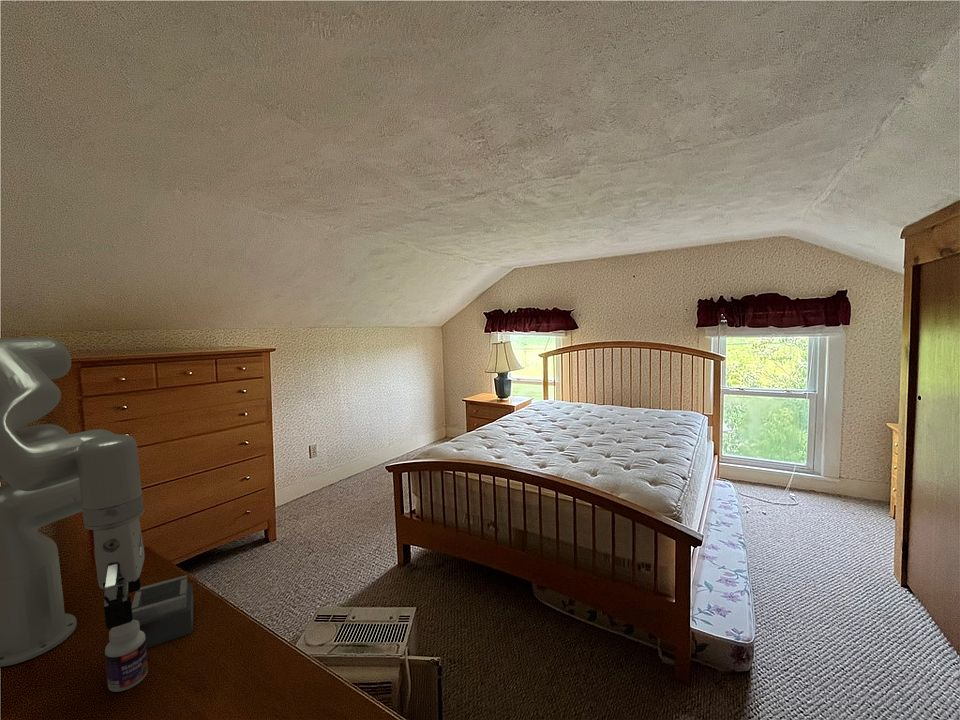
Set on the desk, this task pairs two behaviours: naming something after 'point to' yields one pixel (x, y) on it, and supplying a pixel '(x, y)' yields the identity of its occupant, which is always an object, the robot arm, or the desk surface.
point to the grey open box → (164, 610)
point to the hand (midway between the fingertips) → (124, 607)
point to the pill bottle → (126, 657)
